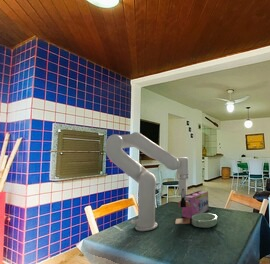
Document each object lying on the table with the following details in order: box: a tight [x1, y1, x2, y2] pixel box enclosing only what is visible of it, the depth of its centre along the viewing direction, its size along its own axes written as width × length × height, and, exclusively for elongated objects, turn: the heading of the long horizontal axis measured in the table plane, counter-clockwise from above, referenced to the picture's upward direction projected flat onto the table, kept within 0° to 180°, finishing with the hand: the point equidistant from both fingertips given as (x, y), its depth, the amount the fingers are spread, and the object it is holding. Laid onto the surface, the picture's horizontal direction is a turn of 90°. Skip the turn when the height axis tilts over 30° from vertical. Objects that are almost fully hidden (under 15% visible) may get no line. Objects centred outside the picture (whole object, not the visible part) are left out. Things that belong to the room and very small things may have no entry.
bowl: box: [191, 212, 218, 229], centre depth 121 cm, size 15×15×4 cm
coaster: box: [174, 217, 191, 225], centre depth 125 cm, size 9×9×1 cm
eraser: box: [178, 200, 188, 208], centre depth 126 cm, size 6×3×3 cm, turn 95°
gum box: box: [181, 190, 210, 220], centre depth 142 cm, size 24×8×14 cm, turn 148°
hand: (183, 205), depth 126 cm, fingers closed on eraser, 3 cm apart
